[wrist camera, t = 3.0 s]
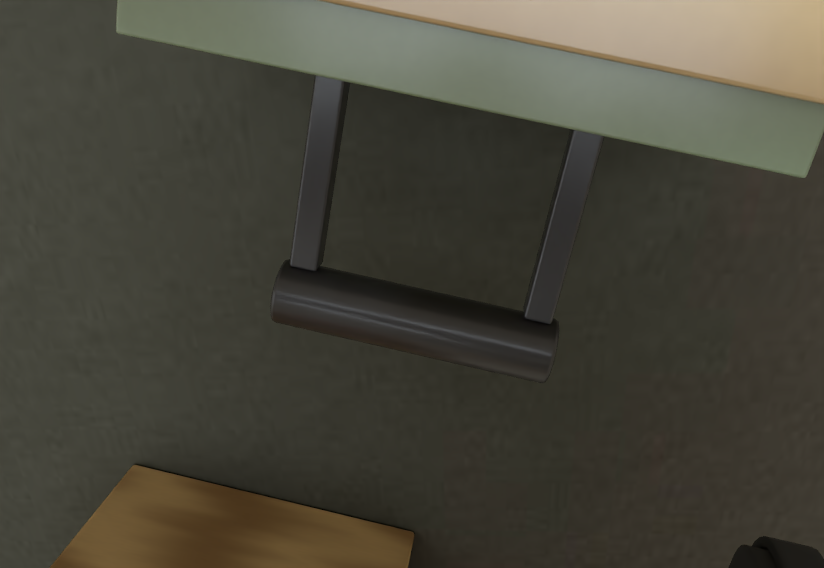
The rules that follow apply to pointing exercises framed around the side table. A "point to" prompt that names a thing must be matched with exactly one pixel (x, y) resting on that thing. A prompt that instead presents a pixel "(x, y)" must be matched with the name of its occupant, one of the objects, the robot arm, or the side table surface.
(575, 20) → the cabinet
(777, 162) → the drawer
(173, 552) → the oak stand
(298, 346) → the side table surface
